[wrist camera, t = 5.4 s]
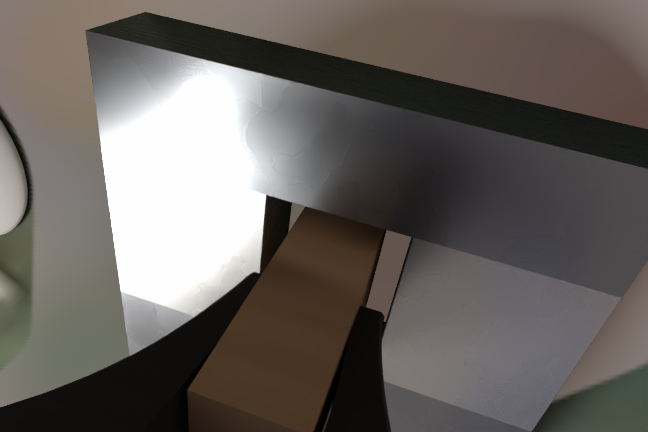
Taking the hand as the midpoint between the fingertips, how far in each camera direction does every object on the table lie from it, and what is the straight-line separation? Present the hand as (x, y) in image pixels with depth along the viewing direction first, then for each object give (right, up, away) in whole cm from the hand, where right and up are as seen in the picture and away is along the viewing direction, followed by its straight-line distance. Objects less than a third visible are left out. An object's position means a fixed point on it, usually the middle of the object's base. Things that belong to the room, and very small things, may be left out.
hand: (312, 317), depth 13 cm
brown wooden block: (+1, +2, +3) cm, 4 cm away
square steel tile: (+1, 0, +4) cm, 4 cm away
